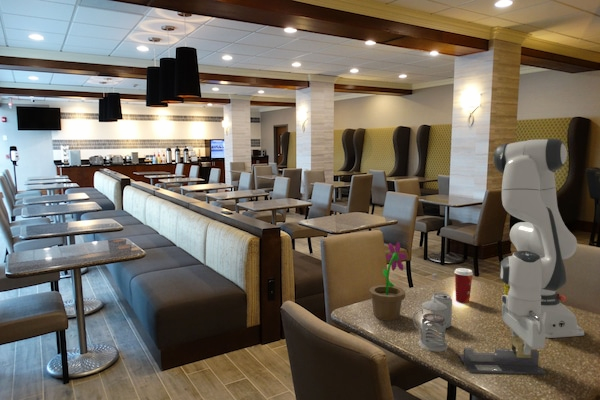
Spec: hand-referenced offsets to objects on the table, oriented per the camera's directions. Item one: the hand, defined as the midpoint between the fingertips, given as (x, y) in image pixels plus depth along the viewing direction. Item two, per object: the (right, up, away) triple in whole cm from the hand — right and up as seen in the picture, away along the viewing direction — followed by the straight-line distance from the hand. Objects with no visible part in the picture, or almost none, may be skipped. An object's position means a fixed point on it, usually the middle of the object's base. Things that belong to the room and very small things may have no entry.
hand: (521, 348), depth 127 cm
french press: (-23, -4, +15) cm, 28 cm away
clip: (0, -2, 0) cm, 2 cm away
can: (-14, -2, +30) cm, 34 cm away
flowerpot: (-33, -1, +40) cm, 52 cm away
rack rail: (-6, -5, +1) cm, 8 cm away
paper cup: (+4, +1, +56) cm, 56 cm away
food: (+27, +1, +56) cm, 62 cm away
